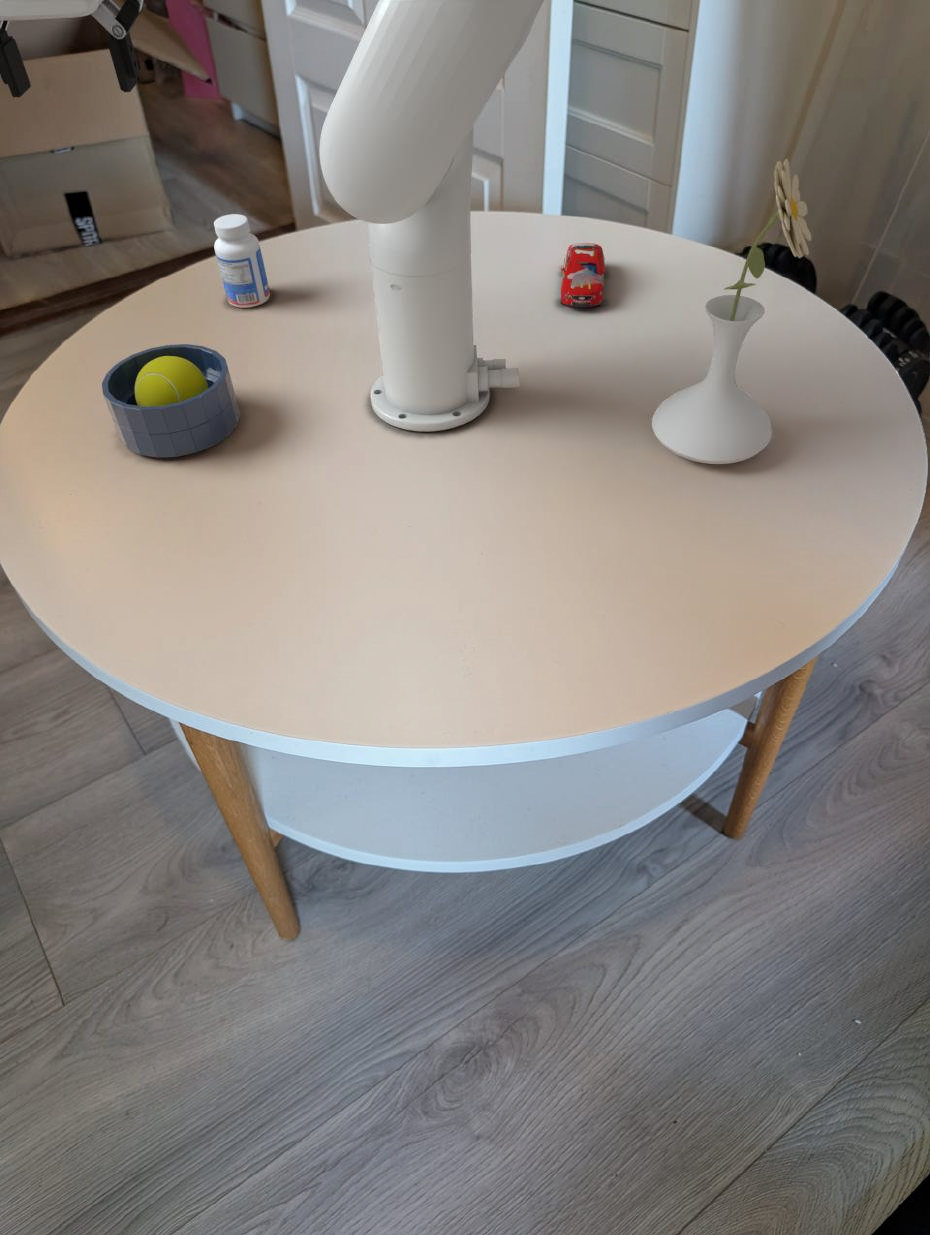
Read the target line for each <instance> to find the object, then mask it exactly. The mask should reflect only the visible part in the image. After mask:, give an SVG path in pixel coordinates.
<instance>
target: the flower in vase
mask: <svg viewBox="0 0 930 1235" xmlns="http://www.w3.org/2000/svg"><path fill="white" fill-rule="evenodd" d="M774 167H775V168H774V172H773V174H774V176H773V177H774V191H775V201H776V206H777V209H776V213H774V215H773V216H772V217H771V218H770V220H769V221H768V222H767V224H766V225H765V226H764V228H762V231H760V233H759V235H758V236H757V238H756V239H755V240H754V243H753V244H752V246H751V247H750V250H749V252H748V254H747V258H746V260H745V262H744V265H743V269H742V272H741V275H740V279H739V280H738V281H737V282H735V283H734V284H733V285H729V286H727V287H724V288H723V290H736V293H735V294H725V295H718V296H716V297H713V298H711V299H709V300H708V301H707V302H706V303H705V306H704V307H705V312H706V313H707V315H708V317H709V319H710V322H711V324H712V328H713V329H712V330H713V347H712V348H713V349H712V357H711V362H710V366H709V370H708V373H707V375H706V377H705V378H704V380H702V381H701V382H698V383H696V384H693V385H690V386H688V387H685V388H683V389H681V390H678V391H675V393H673V394H671V395H670V396H668V397H667V398H666V399H664V400H663V401H662V402H661V403H660V404H659V405H658V407H657V408H656V409H655V411H654V413H653V415H652V418H651V427H652V431H653V433H654V435H655V436H656V438H657V440H658V441H659V443H661V445H662V446H663V447H665V448H666V449H667V450H669V451H670V452H671V453H673V454H675V455H676V456H679V457H681V458H684V459H686V460H690V461H692V462H697V463H701V464H711V465H726V464H727V465H729V464H735V463H740V462H743V461H746V460H749V459H751V458H753V457H754V456H756V455H757V454H759V453H760V452H762V451H763V450H764V449H765V448H766V447H767V446H769V443H770V441H771V439H772V435H773V428H772V423H771V419H770V417H769V414H768V413H767V412H766V410H765V409H764V408H763V407H762V405H760V403H759V402H758V401H757V400H756V399H754V398H753V397H752V396H751V395H750V394H748V393H747V392H746V391H745V390H743V389H742V388H740V387H739V386H738V385H737V382H736V369H737V363H738V359H739V355H740V351H741V349H742V346H743V343H744V341H745V340H746V336H747V334H748V332H749V331H750V330H751V328H752V327H753V326H754V324H756V322H758V321H759V320H761V319H762V317H763V316H764V315H765V307H764V305H763V304H761V303H760V301H757V300H756V299H754V298H751V297H747V296H744V295H741V294H742V293H741V292H742V289H746V288H749V287H752V286H756V285H757V284H756V283H750V282H749V283H748V282H745V279H746V274H747V272H748V270H749V272H750V273H751V275H752V276H753V277H754V279H759V278H760V277H762V275H763V273H764V271H765V267H766V262H765V254H764V251H763V250H762V249H761V248H759V247H758V245H759V244H760V242H761V241H762V239H764V236H765V235H766V234H767V232H768V231H769V230H770V229H771V227H772V226H773V225H774V223H775V222H776V221H777V220H779V221H780V222H781V228H782V232H783V235H784V238H785V239H786V242H787V244H788V246H789V248H790V251H791V253H792V255H793V256H794V257H795V258H798V259H801V258H803V257H804V255H805V256H810V255H809V254H810V250H809V248H808V245H807V241H808V242H812V234H811V232H810V229H809V228H808V225H807V224H808V223H807V221H806V219H805V218H804V217H805V216H806V215H808V206H807V204H806V202H805V201H803V200H801V193H800V190H799V187H800V181H799V177H798V174H796V173H795V174H793V176H792V178H791V168H790V162H789V159H788V158H785V159H784V161H783V163H782V161H781V160H778V161H776V163H775V166H774ZM806 240H807V241H806Z"/></svg>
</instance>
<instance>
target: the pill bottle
mask: <svg viewBox="0 0 930 1235" xmlns="http://www.w3.org/2000/svg"><path fill="white" fill-rule="evenodd" d="M213 226H214V230H215V231H214V232H215V234H216V236H217V239H216V240H215V241H214V245H213V249H214V253H215V257H216V261H217V265H218V269H219V272H220V276H221V280H222V284H223V289H224V292H225V296H226V299H227V301H228V303H229V304H230V305H231V306H233V307H235V308H240V309H242V308H243V309H247V308H254V307H258V306H260V305H263V304H264V303H266V302H268V300H269V298H270V296H271V292H270V291H271V290H270V286H269V281H268V277H267V272H266V267H265V263H264V258H263V253H262V249H261V245H260V241H259V239H258V237H257V236H256V235H255V234H253V233H252V232H251V227H250V224H249V219H248V217H247V216H245V215H243V214H240V213H239V214H238V213H231V214H226V215H221V216H219V217H217V218H216V219H215V220H214V222H213Z"/></svg>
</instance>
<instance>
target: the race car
mask: <svg viewBox="0 0 930 1235" xmlns="http://www.w3.org/2000/svg"><path fill="white" fill-rule="evenodd" d="M604 254H605V253H604V250H603V248H602V246H601V245H599V244H597V243H589V242H585V243H584V242H581V243H580V242H577V243H573V244H571V245H569V246H568V248H567V251H566V253H565V255H564V258H563V267H562V268H561V269H560V271H561V272H562V278H561V279H562V280H561V287H560V304H562V305H565V306H568V307H574V308H591V307H593V308H594V307H596V306H599V305H600V306H601V305H603V298H604V297H603V296H604V288H605V286H604V282H605V281H604V280H605V273H607V269H605V260H606V258H605V255H604Z"/></svg>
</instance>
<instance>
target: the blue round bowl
mask: <svg viewBox="0 0 930 1235" xmlns="http://www.w3.org/2000/svg"><path fill="white" fill-rule="evenodd" d="M162 356H176V357H180V358H183V359H186V360H188V361H190V362H192V363H193V364H194V365H195V366H196V367H197V368H198V369H199V370H200V371H201V372H202V374H203V375H204V377H205V379H206V381H207V384H208V389H207V390H205V391H204V392H202V393H201V394H199V395H197V396H195V397H192V398H190V399H187V400H185V401H182V402H178V403H174V404H169V405H164V406H149V407H143V406H138V405H137V402H136V398H135V382H136V379H137V376H138V374H139V372H140V371H141V369H142V368H143V367H144V366H145V365H146V364H147V363H149V362H150V361H152V360H154V359H156V358H158V357H162ZM101 390H102V395H103V397H104V401H105V404H106V406H107V408H108V411H109V413H110V416H111V419H112V421H113V424H114V427H115V429H116V432H117V434H118V437H119V439H120V441H121V442H122V444H123V445H124V446H125V447H126V448H127V449H128V450H129V451H132V452H134V453H135V454H138V455H141V456H146V457H152V458H159V459H161V458H177V457H183V456H187V455H191V454H195V453H199V452H202V451H204V450H206V449H208V448H211V447H213V446H216V445H217V444H219V443H220V442H221V441H223V440H224V439H226V438H228V437H229V436H230V435H231V433H232V432H233V431H234V429H236V427H237V426H238V423H239V420H240V416H241V413H240V412H241V411H240V408H239V404H238V401H237V397H236V393H235V389H234V385H233V382H232V377H231V373H230V369H229V366H228V363H227V360H226V358H225V357H224V356H223V355H222V354H220V352H218V351H217V350H215V349H212V348H209V347H208V346H204V345H197V344H189V343H183V344H182V343H178V344H165V345H160V346H156V347H155V346H154V347H150V348H147V349H144V350H142V351H139V352H136V353H133V354H131V355H129V356H127V357H125V358H124V359H122V360H120V361H119V362H117V363H116V364H114V365H113V366H112V367H111V369H109V370H108V371H107V372H106V374H105V376H104V378H103V380H102V381H101Z"/></svg>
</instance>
